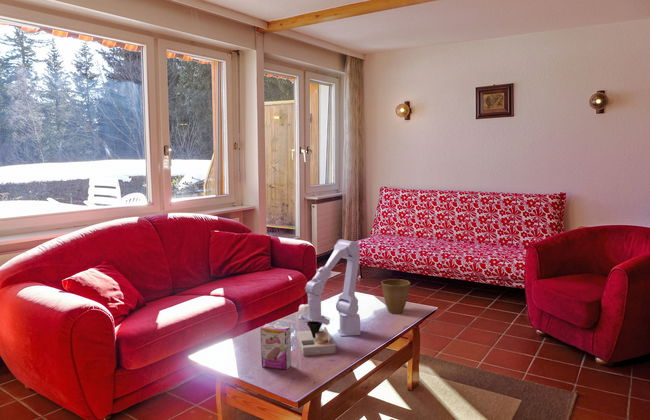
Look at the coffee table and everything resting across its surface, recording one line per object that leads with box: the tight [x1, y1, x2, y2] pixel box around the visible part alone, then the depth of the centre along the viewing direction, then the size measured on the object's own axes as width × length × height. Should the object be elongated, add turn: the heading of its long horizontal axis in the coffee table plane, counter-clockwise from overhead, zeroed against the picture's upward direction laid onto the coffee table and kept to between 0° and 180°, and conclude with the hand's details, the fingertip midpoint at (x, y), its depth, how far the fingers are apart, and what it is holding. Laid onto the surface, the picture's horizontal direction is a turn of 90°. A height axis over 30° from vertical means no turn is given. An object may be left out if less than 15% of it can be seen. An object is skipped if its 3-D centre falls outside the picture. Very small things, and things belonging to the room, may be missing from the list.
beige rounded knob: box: [315, 332, 328, 344], centre depth 224 cm, size 5×5×4 cm
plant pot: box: [381, 278, 411, 315], centre depth 269 cm, size 15×15×16 cm
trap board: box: [295, 326, 337, 357], centre depth 226 cm, size 14×24×4 cm, turn 10°
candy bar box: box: [260, 323, 292, 371], centre depth 203 cm, size 11×5×16 cm, turn 71°
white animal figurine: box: [298, 303, 308, 320], centre depth 261 cm, size 9×8×15 cm
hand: (315, 337), depth 227 cm, fingers closed
